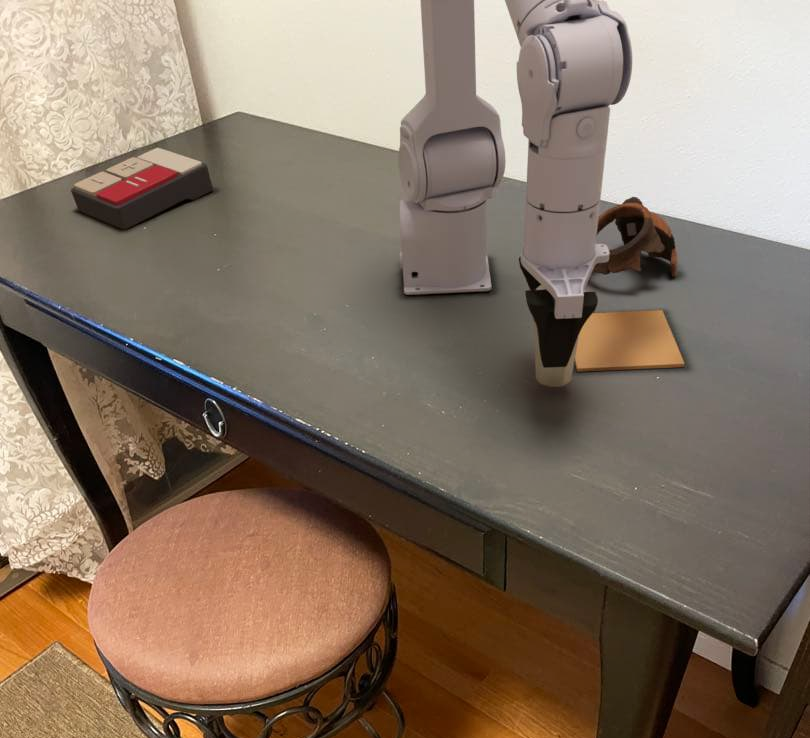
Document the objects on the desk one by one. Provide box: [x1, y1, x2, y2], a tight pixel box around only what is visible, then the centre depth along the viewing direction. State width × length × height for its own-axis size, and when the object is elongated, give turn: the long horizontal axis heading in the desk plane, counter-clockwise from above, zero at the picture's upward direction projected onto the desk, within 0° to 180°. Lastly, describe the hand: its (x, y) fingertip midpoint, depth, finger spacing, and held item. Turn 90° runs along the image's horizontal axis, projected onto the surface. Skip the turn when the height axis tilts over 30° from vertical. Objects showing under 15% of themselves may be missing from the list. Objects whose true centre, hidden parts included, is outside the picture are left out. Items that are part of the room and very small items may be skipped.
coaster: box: [574, 309, 685, 372], centre depth 83 cm, size 10×10×1 cm
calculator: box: [70, 147, 214, 231], centre depth 114 cm, size 11×4×15 cm
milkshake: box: [524, 277, 587, 388], centre depth 73 cm, size 4×5×10 cm
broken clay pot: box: [592, 196, 678, 278], centre depth 92 cm, size 12×10×8 cm
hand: (551, 350), depth 75 cm, fingers closed on milkshake, 4 cm apart
